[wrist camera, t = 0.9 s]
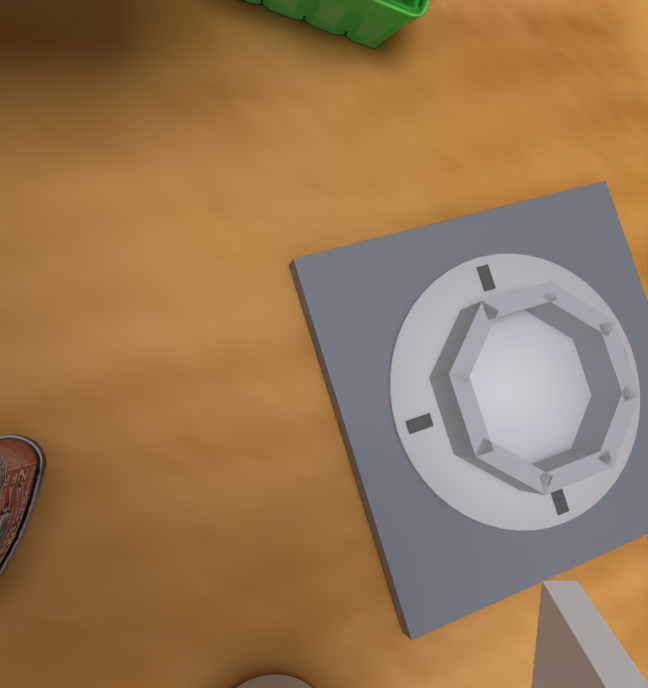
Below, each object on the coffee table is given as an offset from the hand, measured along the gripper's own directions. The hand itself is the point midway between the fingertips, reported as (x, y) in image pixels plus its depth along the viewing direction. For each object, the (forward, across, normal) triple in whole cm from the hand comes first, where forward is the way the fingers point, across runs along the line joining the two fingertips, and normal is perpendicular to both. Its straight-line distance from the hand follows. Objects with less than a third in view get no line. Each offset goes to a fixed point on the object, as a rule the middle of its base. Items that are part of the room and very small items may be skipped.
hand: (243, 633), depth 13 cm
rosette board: (+21, +12, -1) cm, 24 cm away
